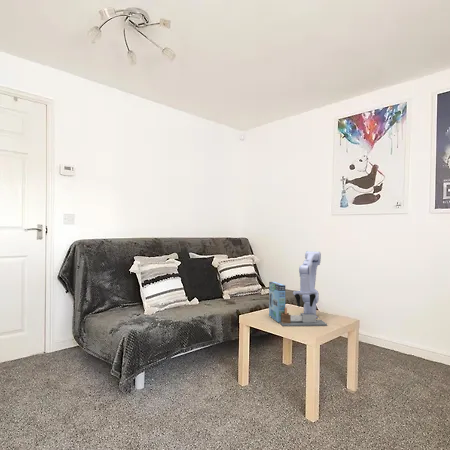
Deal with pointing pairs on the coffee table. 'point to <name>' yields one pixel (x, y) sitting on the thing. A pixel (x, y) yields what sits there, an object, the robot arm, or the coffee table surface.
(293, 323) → the base board
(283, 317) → the socket
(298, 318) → the blocks
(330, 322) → the coffee table surface
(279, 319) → the gum box
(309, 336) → the coffee table surface
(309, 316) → the sleeve
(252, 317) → the coffee table surface
